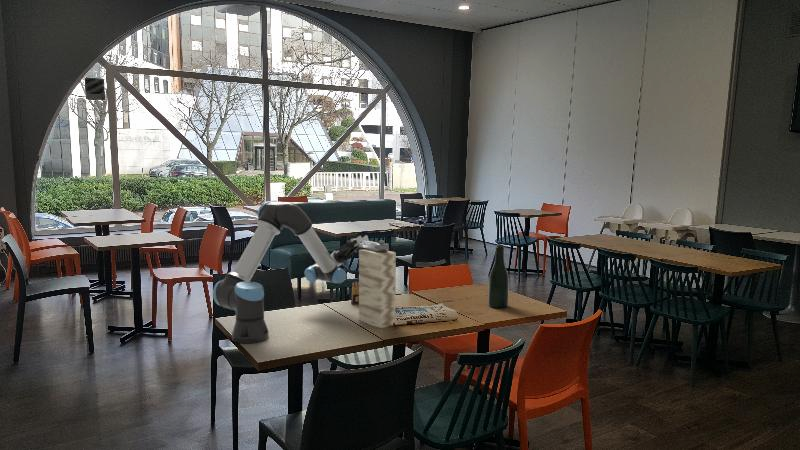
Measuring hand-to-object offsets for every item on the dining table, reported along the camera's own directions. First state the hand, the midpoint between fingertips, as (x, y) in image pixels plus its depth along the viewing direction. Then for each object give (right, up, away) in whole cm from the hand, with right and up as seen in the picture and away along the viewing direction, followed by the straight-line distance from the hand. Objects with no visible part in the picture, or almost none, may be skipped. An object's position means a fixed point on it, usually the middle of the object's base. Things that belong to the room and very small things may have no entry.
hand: (364, 238), depth 264 cm
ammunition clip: (-4, -36, +33) cm, 48 cm away
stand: (+6, -40, -3) cm, 40 cm away
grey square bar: (+2, -5, -2) cm, 6 cm away
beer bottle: (+69, -37, +28) cm, 83 cm away
